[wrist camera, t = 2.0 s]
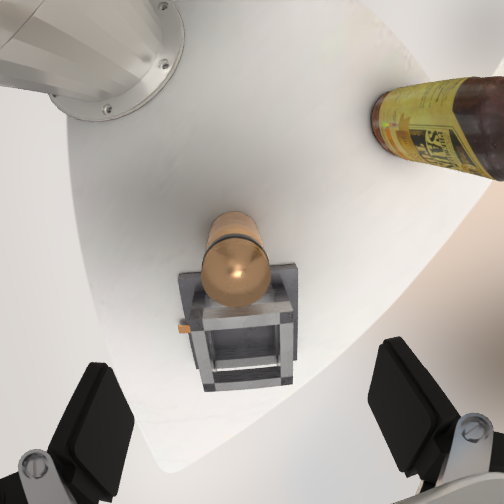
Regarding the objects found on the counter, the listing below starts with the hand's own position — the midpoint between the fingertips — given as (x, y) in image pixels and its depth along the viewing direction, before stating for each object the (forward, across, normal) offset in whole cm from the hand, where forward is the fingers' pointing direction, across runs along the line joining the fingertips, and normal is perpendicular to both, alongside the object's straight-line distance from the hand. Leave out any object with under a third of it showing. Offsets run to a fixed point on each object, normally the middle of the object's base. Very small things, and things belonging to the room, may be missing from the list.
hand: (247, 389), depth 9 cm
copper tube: (+17, 0, 0) cm, 17 cm away
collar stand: (+17, 0, +8) cm, 18 cm away
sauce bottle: (+17, -15, -9) cm, 24 cm away
